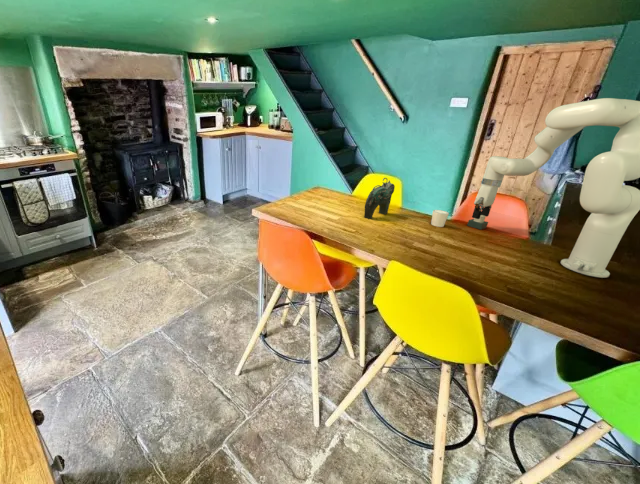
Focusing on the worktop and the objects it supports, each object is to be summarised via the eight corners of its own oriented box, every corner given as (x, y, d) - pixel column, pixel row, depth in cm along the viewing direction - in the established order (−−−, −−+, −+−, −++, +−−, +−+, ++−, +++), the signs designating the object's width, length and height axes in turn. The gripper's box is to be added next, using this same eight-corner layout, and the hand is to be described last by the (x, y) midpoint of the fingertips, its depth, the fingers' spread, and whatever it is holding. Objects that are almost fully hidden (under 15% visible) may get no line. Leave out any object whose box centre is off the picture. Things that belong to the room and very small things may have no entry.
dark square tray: (480, 229, 147) (482, 224, 146) (467, 225, 152) (468, 220, 150) (486, 227, 150) (488, 222, 149) (472, 223, 155) (474, 218, 154)
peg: (479, 228, 148) (482, 216, 146) (471, 226, 151) (475, 214, 149) (482, 227, 150) (486, 216, 148) (474, 225, 153) (478, 214, 151)
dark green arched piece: (381, 211, 167) (388, 175, 160) (392, 214, 162) (400, 177, 155) (360, 216, 155) (367, 178, 148) (371, 220, 151) (379, 181, 144)
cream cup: (445, 224, 151) (449, 211, 148) (445, 228, 145) (449, 214, 143) (430, 221, 154) (433, 208, 152) (429, 225, 149) (432, 211, 146)
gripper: (490, 180, 150) (479, 212, 156) (474, 182, 141) (463, 217, 147) (508, 183, 144) (496, 217, 150) (492, 186, 135) (480, 221, 141)
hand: (479, 216), depth 149 cm, fingers open, 9 cm apart
